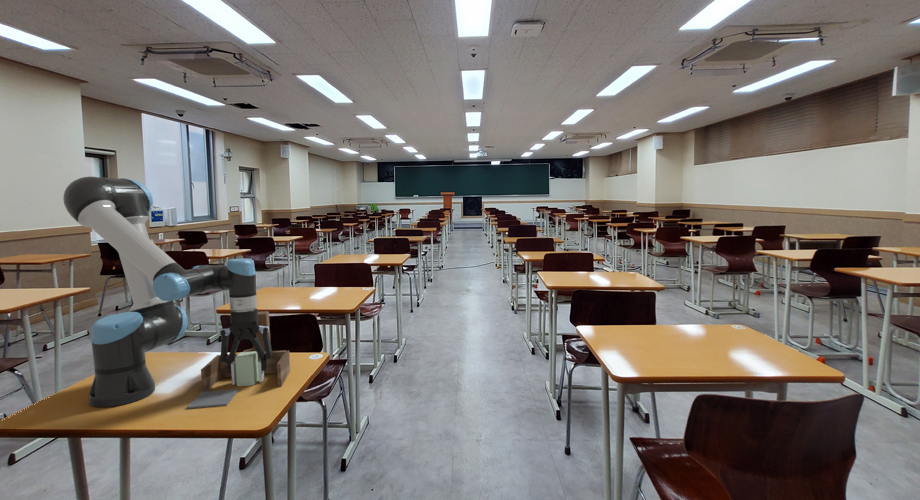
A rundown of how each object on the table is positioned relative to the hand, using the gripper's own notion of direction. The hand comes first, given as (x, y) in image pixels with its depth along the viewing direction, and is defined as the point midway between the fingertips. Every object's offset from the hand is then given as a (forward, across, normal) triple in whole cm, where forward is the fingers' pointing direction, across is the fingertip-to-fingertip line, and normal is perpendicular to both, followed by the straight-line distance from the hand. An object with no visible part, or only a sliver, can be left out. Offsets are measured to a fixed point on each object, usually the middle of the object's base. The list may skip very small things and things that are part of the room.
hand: (248, 381), depth 134 cm
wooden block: (0, -2, +17) cm, 17 cm away
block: (0, 0, 0) cm, 0 cm away
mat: (0, -6, -11) cm, 13 cm away
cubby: (0, 0, +1) cm, 1 cm away
